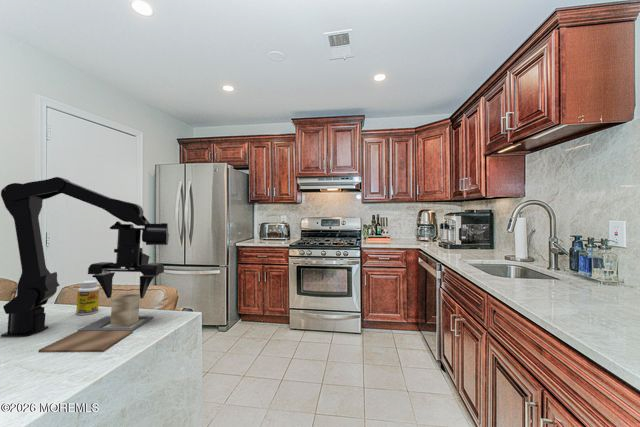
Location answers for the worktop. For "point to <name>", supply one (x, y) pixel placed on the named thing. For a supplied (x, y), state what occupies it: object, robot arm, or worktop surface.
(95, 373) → the worktop surface
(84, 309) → the supplement bottle
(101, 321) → the mat
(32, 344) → the worktop surface
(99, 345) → the board
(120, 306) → the beige wooden block
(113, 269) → the robot arm
